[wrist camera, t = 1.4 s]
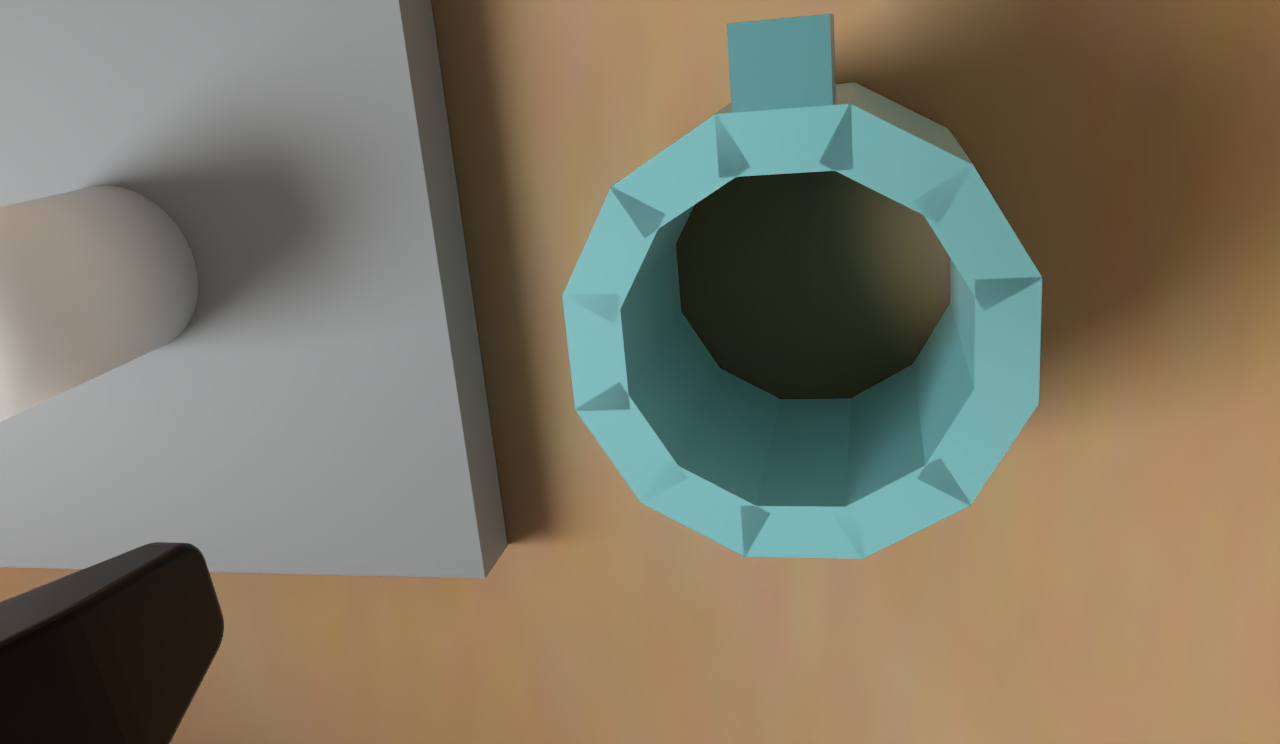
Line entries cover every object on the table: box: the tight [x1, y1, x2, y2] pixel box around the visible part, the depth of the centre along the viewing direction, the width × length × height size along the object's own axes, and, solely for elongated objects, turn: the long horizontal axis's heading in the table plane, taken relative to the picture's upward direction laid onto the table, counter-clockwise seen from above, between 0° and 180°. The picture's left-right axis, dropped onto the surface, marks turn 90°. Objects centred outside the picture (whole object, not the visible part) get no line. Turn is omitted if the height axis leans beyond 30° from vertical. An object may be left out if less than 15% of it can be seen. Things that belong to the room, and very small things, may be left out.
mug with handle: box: [562, 14, 1043, 559], centre depth 18 cm, size 8×7×5 cm
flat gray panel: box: [0, 0, 508, 578], centre depth 20 cm, size 14×14×6 cm
